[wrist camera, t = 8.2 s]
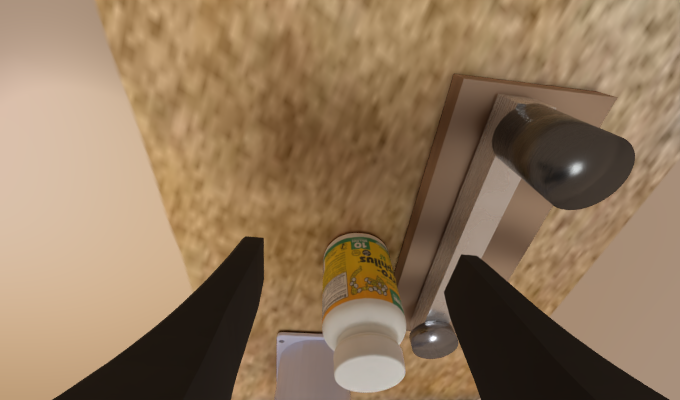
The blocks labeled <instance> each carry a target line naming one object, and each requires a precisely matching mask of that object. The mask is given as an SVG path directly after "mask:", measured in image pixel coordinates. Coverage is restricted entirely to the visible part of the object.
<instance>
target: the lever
mask: <svg viewBox="0 0 680 400" xmlns="http://www.w3.org/2000/svg"><path fill="white" fill-rule="evenodd" d="M634 161H635V153H634V149H633V147H632V145H631V144H630V143H629V142H628V141H627V140H625V139H624V138H622V137H619V136H617V135H615V134H612V133H610V132H607V131H605V130H603V129H600V128H598V127H596V126H593V125H591V124H588V123H586V122H584V121H581V120H579V119H577V118H574V117H572V116H569V115H567V114H565V113H562V112H560V111H558V110H556V107H553V106H551V105H549V104H546V103H544V102H541V101H539V100H536V99H534V98H529V97H521V96H512V95H504V94H498V95H497V98H496V100H495V103H494V106H493V108H492V111H491V113H490V116H489V119H488V121H487V124H486V126H485V129H484V132H483V134H482V137H481V139H480V142H479V145H478V147H477V150H476V152H475V155H474V158H473V160H472V163H471V165H470V168H469V171H468V173H467V176H466V178H465V181H464V184H463V186H462V189H461V191H460V194H459V197H458V199H457V202H456V204H455V207H454V210H453V212H452V215H451V217H450V220H449V223H448V225H447V228H446V230H445V233H444V236H443V238H442V241H441V243H440V246H439V249H438V251H437V254H436V256H435V259H434V262H433V264H432V267H431V269H430V272H429V275H428V277H427V280H426V282H425V285H424V288H423V290H422V293H421V295H420V298H419V301H418V303H417V306H416V308H415V311H414V314H413V316H412V319H411V321H410V327H411V333H410V342H411V346H412V350H413V352H414V354H415V355H417V356H419V357H421V358H426V359H435V358H441V357H444V356H446V355H449V354H450V353H452V352H453V351H454V350H455V349H456V348H457V346H458V339H457V337H456V334H455V331H454V329H453V327H452V326H451V325H450V324H449V323H450V321H451V319H450V316H449V312H448V308H447V304H446V300H445V295H444V291H445V288H446V286H447V284H448V282H449V280H450V278H451V275H452V273H453V271H454V269H455V267H456V265H457V262H458V260H459V258H460V256H461V254H463V255H475V256H478V257H479V258H482V256H483V254H484V252H485V250H486V248H487V246H488V244H489V242H490V240H491V238H492V236H493V234H494V232H495V230H496V228H497V226H498V224H499V222H500V220H501V218H502V216H503V214H504V212H505V210H506V208H507V206H508V204H509V202H510V200H511V198H512V196H513V194H514V192H515V190H516V188H517V186H518V184H519V182H520V180H521V178H522V179H523V180H524V181H525V182H526V183H528V184H529V185H530V186H531V187H532V188H533V189H535V190H536V191H537V192H538V193H539V194H540V195H542V196H543V197H544V198H545V199H546V200H547V201H549V202H550V203H551V204H552V205H554V206H555V207H557V208H560V209H565V210H577V209H583V208H586V207H589V206H592V205H594V204H597V203H599V202H601V201H602V200H604V199H606V198H607V197H609V196H610V195H611V194H613V193H614V192H615V191H616V190H617V189H618V188H619V187H620V186H621V185H622V184H623V183H624V182H625V181H626V179H627V178H628V176H629V175H630V173H631V171H632V168H633V165H634Z"/></svg>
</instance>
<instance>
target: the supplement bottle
mask: <svg viewBox="0 0 680 400" xmlns="http://www.w3.org/2000/svg"><path fill="white" fill-rule="evenodd" d="M322 331H323V336H324V339H325V341H326V343H327V344H328V346H329V347H330V348H331V349H332V350H333V351H334V355H333V361H334V378H335V380H336V382H337V383H338V384H339V385H340V386H341V387H343V388H345V389H347V390H350V391H354V392H363V393H369V392H378V391H382V390H386V389H389V388H391V387H393V386H395V385H397V384H398V383H399V382H400V381H401V380H402V379H403V378H404V376H405V364H404V358H403V352H402V349H401V347H400V346H399V345H400V343H401V342H402V340H403V338H404V336H405V333H406V319H405V315H404V311H403V308H402V304H401V300H400V296H399V292H398V288H397V284H396V279H395V276H394V272H393V268H392V264H391V260H390V256H389V253H388V249H387V247H386V246H385V244H384V243H383V242H382V241H381V240H380V239H378V238H377V237H374V236H372V235H370V234H364V233H350V234H346V235H343V236H340V237H338V238H337V239H335V240H334V241H333V242H331V244H330V245H329V246H328V247H327V249H326V251H325V254H324V259H323V301H322Z"/></svg>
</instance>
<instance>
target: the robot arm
mask: <svg viewBox="0 0 680 400" xmlns="http://www.w3.org/2000/svg"><path fill="white" fill-rule="evenodd" d="M263 281H264V238H258V237H244V238H243V239H242V240H241V241H240V243H239V244H238V245H237V246H236V248H235V249H234V250H233V251H232V252H231V254H230V255H229V256H228V257H227V258H226V259H225V260H224V262H223V263H222V264H221V265H220V266H219V267H218V268H217V269H216V270H215V271H214V272H213V273H212V275H211V276H210V277H209V278H208V279H207V280H206V281H205V282H204V283H203V284H202V285H201V286H200V287H199V288H198V289H197V290H196V291H195V292H194V293H193V294H192V295H190V296H189V298H187V299H186V300H185V301H184V302H183V303H182V304H181V305H180V306H179V307H178V308H176V309H175V310H174V311H173V312H172V313H171V314H170V315H169V316H168V317H166V318H165V319H164V320H163V321H161V322H160V323H159V324H158V325H157V326H156V327H154V328H153V329H152V330H151V331H149V332H148V333H147V334H145V335H144V336H143V337H142V338H140V339H139V340H138V341H136V342H135V343H134V344H133V345H131V346H130V347H129V348H127V349H126V350H125V351H123V352H122V353H121V354H119V355H118V356H116V357H115V358H114V359H112V360H111V361H110V362H108V363H107V364H105V365H104V366H102V367H101V368H99V369H98V370H96V371H95V372H93V373H92V374H90V375H89V376H87V377H86V378H84V379H83V380H81V381H80V382H78V383H77V384H76V385H74V386H73V387H71V388H70V389H68V390H67V391H65V392H64V393H62V394H61V395H59V396H57V397H56V398H54V399H53V400H231V396H232V392H233V387H234V384H235V380H236V376H237V373H238V369H239V366H240V363H241V360H242V357H243V354H244V351H245V347H246V344H247V341H248V338H249V335H250V332H251V329H252V326H253V322H254V319H255V316H256V313H257V310H258V306H259V301H260V297H261V292H262V286H263ZM444 295H445V300H446V304H447V308H448V312H449V316H450V319H451V322H452V325H453V327H454V330H455V332H456V335H457V338H458V340H459V343H460V345H461V348H462V350H463V353H464V355H465V358H466V360H467V363H468V365H469V368H470V370H471V373H472V375H473V378H474V381H475V383H476V386H477V389H478V392H479V395H480V398H481V400H669V399H667V398H666V397H664V396H663V395H661V394H659V393H658V392H656V391H654V390H653V389H651V388H649V387H648V386H646V385H644V384H643V383H641V382H640V381H638V380H637V379H635V378H634V377H632V376H630V375H629V374H627V373H626V372H624V371H623V370H621V369H619V368H618V367H617V366H615V365H614V364H612V363H611V362H609V361H607V360H606V359H605V358H603V357H602V356H600V355H599V354H598V353H596V352H595V351H593V350H592V349H591V348H589V347H588V346H586V345H585V344H584V343H582V342H581V341H579V340H578V339H577V338H575V337H574V336H572V335H571V334H570V333H569V332H567V331H566V330H565V329H563V328H562V327H561V326H560V325H558V324H557V323H556V322H555V321H553V320H552V319H551V318H550V317H548V316H547V315H546V314H545V313H543V312H542V311H541V310H540V309H539V308H537V307H536V306H535V305H534V304H533V303H531V302H530V301H529V300H528V299H527V298H526V297H524V296H523V295H522V294H521V293H520V292H519V291H518V290H516V289H515V288H514V287H513V286H512V285H511V284H510V283H508V282H507V281H506V280H505V279H504V278H503V277H502V276H500V275H499V274H498V273H497V272H496V271H495V270H494V269H493V268H491V267H490V266H489V265H488V264H487V263H485V262H484V261H483V260H482V259H481V258H479V257H478V256H475V255H463V254H461V256H460V258H459V260H458V262H457V265H456V267H455V269H454V271H453V273H452V275H451V278H450V280H449V282H448V284H447V286H446V288H445V291H444ZM333 355H334V351H333V350H332V349H331V348H330V347H329V346H328V344H327V343H326V341H325V339H324V336H323V334H313V333H291V332H280V333H278V334H277V385H276V391H275V398H274V400H351V398H350V390H347V389H345V388H343V387H341V386H340V385H339V384H338V383H337V382H336V380H335V378H334V361H333Z"/></svg>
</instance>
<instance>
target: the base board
mask: <svg viewBox="0 0 680 400" xmlns="http://www.w3.org/2000/svg"><path fill="white" fill-rule="evenodd" d="M498 94H504V95H512V96H521V97H529V98H534V99H536V100H539V101H541V102H544V103H546V104H549V105H551V106H553V107H556V110H558V111H560V112H562V113H565V114H567V115H569V116H572V117H574V118H577V119H579V120H581V121H584V122H586V123H588V124H591V125H593V126H596V127H598V128H600V126H601V125H602V123H603V121H604V120H605V118H606V116H607V115H608V113H609V111H610V110H611V108H612V106H613V104H614V103H615V101H616V99H617V97H614V96H610V95H607V94H603V93H600V92H595V91H587V90H579V89H571V88H563V87H555V86H547V85H539V84H531V83H523V82H515V81H507V80H499V79H491V78H483V77H475V76H467V75H459V74H454V76H453V79H452V82H451V86H450V89H449V92H448V96H447V99H446V102H445V106H444V109H443V112H442V116H441V119H440V122H439V126H438V129H437V133H436V136H435V139H434V143H433V146H432V149H431V153H430V156H429V159H428V163H427V166H426V169H425V173H424V176H423V179H422V183H421V186H420V189H419V193H418V196H417V199H416V203H415V206H414V209H413V213H412V216H411V219H410V223H409V226H408V230H407V233H406V236H405V240H404V243H403V246H402V250H401V253H400V256H399V260H398V263H397V266H396V270H395V273H394V276H395V279H396V284H397V288H398V292H399V296H400V300H401V304H402V308H403V311H404V315H405V319H406V331H411V327H410V321H411V319H412V316H413V314H414V311H415V308H416V306H417V303H418V301H419V298H420V295H421V293H422V290H423V288H424V285H425V282H426V280H427V277H428V275H429V272H430V269H431V267H432V264H433V262H434V259H435V256H436V254H437V251H438V249H439V246H440V243H441V241H442V238H443V236H444V233H445V230H446V228H447V225H448V223H449V220H450V217H451V215H452V212H453V210H454V207H455V204H456V202H457V199H458V197H459V194H460V191H461V189H462V186H463V184H464V181H465V178H466V176H467V173H468V171H469V168H470V165H471V163H472V160H473V158H474V155H475V152H476V150H477V147H478V145H479V142H480V139H481V137H482V134H483V132H484V129H485V126H486V124H487V121H488V119H489V116H490V113H491V111H492V108H493V106H494V103H495V100H496V98H497V95H498ZM552 207H553V205H552V204H551V203H550V202H549V201H547V200H546V199H545V198H544V197H543V196H542V195H540V194H539V193H538V192H537V191H536V190H535V189H533V188H532V187H531V186H530V185H529V184H528V183H526V182H525V181H524V180H523V179H522V178H521V180H520V182H519V184H518V186H517V188H516V190H515V192H514V194H513V196H512V198H511V200H510V202H509V204H508V206H507V208H506V210H505V212H504V214H503V216H502V218H501V220H500V222H499V224H498V226H497V228H496V230H495V232H494V234H493V236H492V238H491V240H490V242H489V244H488V246H487V248H486V250H485V252H484V254H483V256H482V258H481V259H482V260H483V261H484V262H485V263H487V264H488V265H489V266H490V267H491V268H493V269H494V270H495V271H496V272H497V273H498V274H499V275H500V276H502V277H503V278H504V279H505V280H506V281H507V282H508V281H509V279H510V277H511V275H512V274H513V272H514V270H515V269H516V267H517V265H518V264H519V262H520V260H521V259H522V257H523V255H524V254H525V252H526V250H527V249H528V247H529V245H530V244H531V242H532V240H533V239H534V237H535V235H536V234H537V232H538V230H539V229H540V227H541V225H542V224H543V222H544V220H545V218H546V217H547V215H548V213H549V212H550V210H551V208H552ZM449 324H450V325H451V326H452V327H453V325H452V322H451V321H450V323H449ZM453 329H454V327H453ZM454 331H455V330H454ZM455 333H456V332H455Z"/></svg>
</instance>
